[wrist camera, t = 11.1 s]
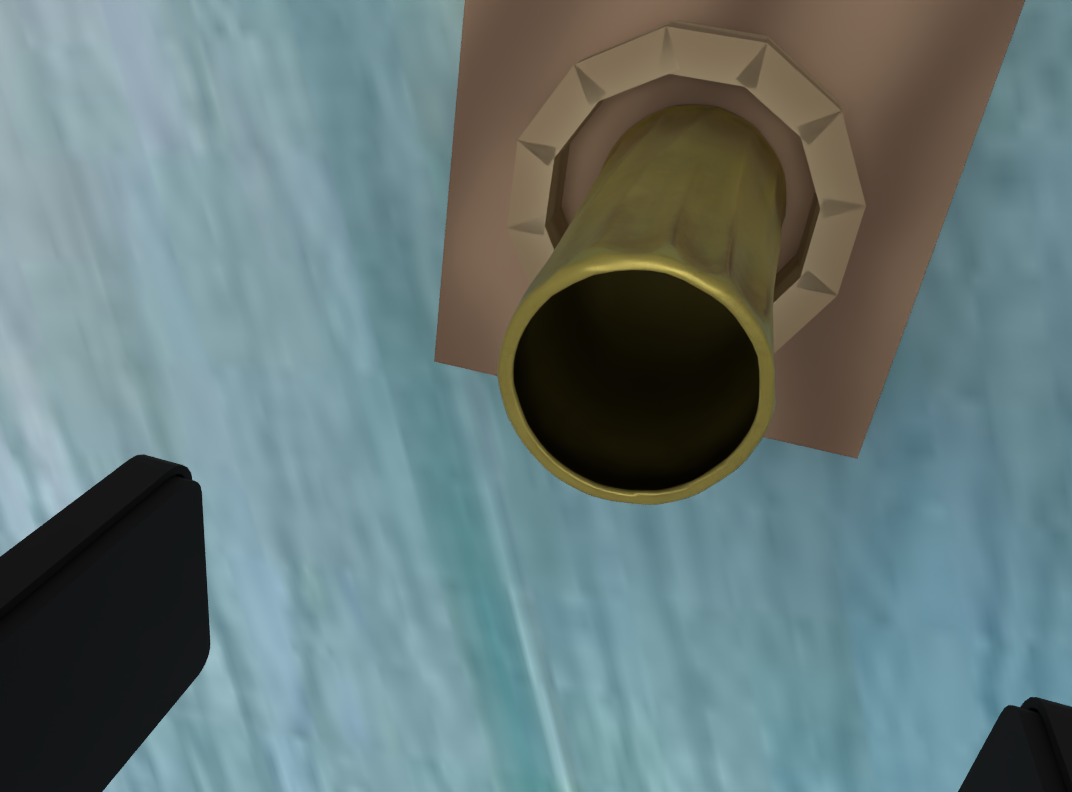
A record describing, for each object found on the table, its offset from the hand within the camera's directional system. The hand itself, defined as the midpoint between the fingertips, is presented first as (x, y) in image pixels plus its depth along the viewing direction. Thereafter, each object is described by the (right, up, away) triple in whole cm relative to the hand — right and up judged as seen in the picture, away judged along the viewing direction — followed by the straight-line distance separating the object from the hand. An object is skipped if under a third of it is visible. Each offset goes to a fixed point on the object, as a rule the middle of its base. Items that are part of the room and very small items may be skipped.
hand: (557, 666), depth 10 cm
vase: (+5, +10, +19) cm, 22 cm away
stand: (+5, +10, +20) cm, 23 cm away
